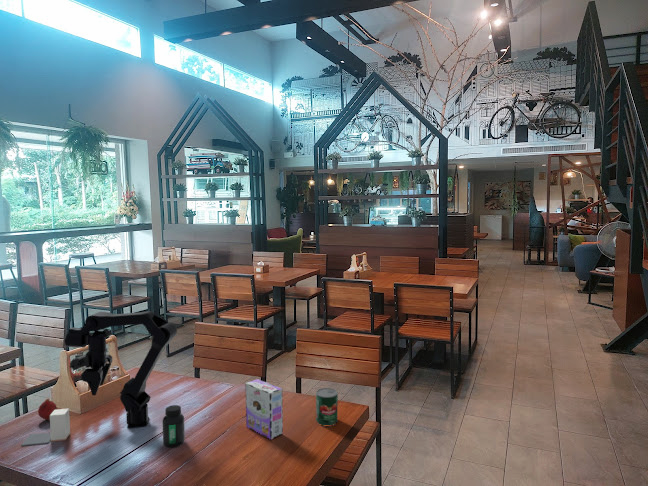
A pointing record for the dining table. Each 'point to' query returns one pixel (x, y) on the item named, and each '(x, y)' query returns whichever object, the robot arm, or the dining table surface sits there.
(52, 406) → the onion
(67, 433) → the block
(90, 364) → the robot arm
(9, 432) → the dining table surface
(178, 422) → the supplement bottle
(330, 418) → the canned tomato
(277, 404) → the candy box
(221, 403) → the dining table surface
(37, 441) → the mat
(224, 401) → the dining table surface
